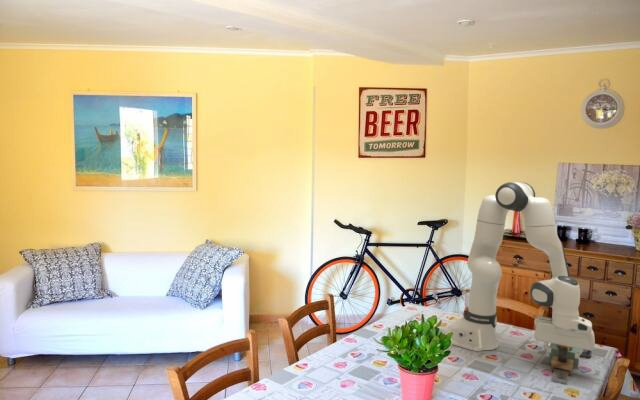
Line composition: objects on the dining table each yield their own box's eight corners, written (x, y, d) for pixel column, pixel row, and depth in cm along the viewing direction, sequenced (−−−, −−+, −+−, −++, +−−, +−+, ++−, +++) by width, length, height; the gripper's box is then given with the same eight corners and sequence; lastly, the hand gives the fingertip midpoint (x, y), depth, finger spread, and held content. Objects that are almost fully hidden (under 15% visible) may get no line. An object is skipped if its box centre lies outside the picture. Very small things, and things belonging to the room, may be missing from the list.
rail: (551, 381, 173) (551, 377, 173) (555, 365, 186) (555, 361, 185) (566, 384, 170) (567, 380, 170) (570, 368, 183) (570, 364, 183)
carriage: (550, 370, 181) (552, 348, 180) (552, 364, 186) (553, 343, 185) (571, 374, 177) (573, 352, 176) (572, 368, 182) (574, 347, 181)
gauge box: (548, 362, 188) (549, 348, 187) (550, 356, 194) (551, 341, 193) (577, 368, 183) (578, 353, 182) (578, 362, 189) (579, 347, 188)
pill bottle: (593, 359, 191) (595, 332, 190) (576, 357, 193) (578, 331, 191) (588, 352, 197) (589, 326, 196) (572, 351, 199) (573, 325, 197)
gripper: (533, 317, 182) (531, 352, 183) (595, 328, 172) (593, 365, 173) (535, 312, 187) (534, 347, 189) (596, 322, 177) (593, 358, 178)
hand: (562, 355), depth 181 cm, fingers open, 8 cm apart
